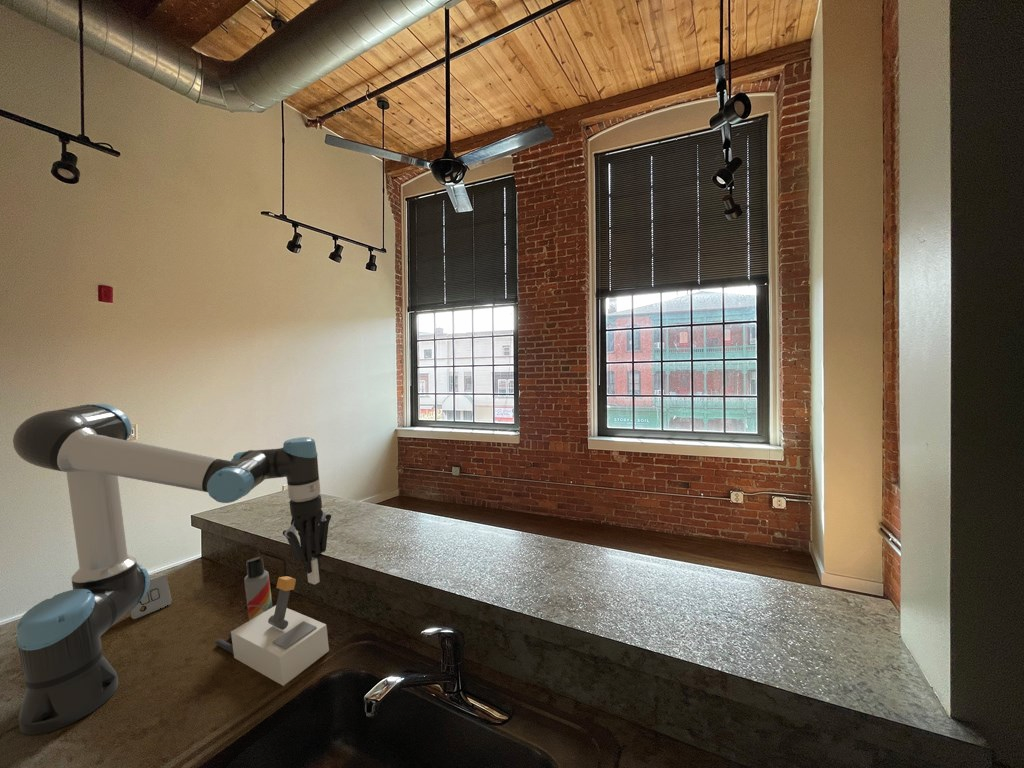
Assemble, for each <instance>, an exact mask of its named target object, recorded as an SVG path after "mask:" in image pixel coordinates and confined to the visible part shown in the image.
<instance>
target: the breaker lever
mask: <svg viewBox="0 0 1024 768" xmlns="http://www.w3.org/2000/svg"><path fill="white" fill-rule="evenodd" d="M296 581H297V579H296V578H294V577H291V576H286V575H285V576H281V577H280V576H279V577H278V579H277V584H276V587H275V588H276V589H278V595H277V600H276V604H275V605H276V608H275V613H274V615H272V616H271V617H270V618H269V620H268V623H269V624H271V625H273V626H275V627H277V628H279V629H281V630H284V629H285V628H286V627H287V626H288V621H286V620H284V618H285V613H286V609H287V608H288V602H289V599H290V594H291V591H292V590H295V586H296Z"/></svg>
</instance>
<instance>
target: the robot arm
mask: <svg viewBox="0 0 1024 768" xmlns="http://www.w3.org/2000/svg"><path fill="white" fill-rule="evenodd" d="M131 434H132V423H131V420H130V419H129V417H128V416H127V414H126V413H124V412H123V411H122V410H120V409H119V408H117V407H115V406H114V405H109V404H105V403H95V404H94V403H93V404H81V405H77V406H71V407H66V408H62V409H60V408H59V409H56V410H55V409H54V410H48V411H43V412H40V413H36V414H34V415H31V416H30V417H29V418H27V419H25V420H24V421H23V422H22V423H20V424H19V425H18V427H17V428H16V430H15V432H14V434H13V439H12V443H13V448H14V450H15V452H16V454H17V455H18V456H19V457H20V458H21V459H22V460H23V461H25V462H27V463H29V464H31V465H34V466H37V467H39V468H43V469H48V470H53V471H59V472H64V473H66V478H67V479H66V480H67V487H68V494H69V501H70V509H71V515H72V516H71V517H72V524H73V530H74V538H75V545H76V546H75V547H76V553H77V560H78V566H79V568H78V569H77V570H76V571H75V572H74V574H72V576H71V585H72V589H70V590H67V591H63V592H60V593H57V594H55V595H53V596H52V597H51V598H46V599H44V600H42V601H40V602H38V603H37V604H35V605H34V606H33V607H31V608H30V609H28V610H27V611H26V612H25V613H24V614H23V615H22V616H21V617H20V619H19V621H18V622H17V624H16V645H17V647H18V652H19V656H20V662H21V666H22V667H21V669H22V671H23V677H24V682H25V688H26V689H25V693H24V696H23V700H22V703H21V706H20V711H19V714H18V725H19V731H20V732H21V733H22V734H23V735H28V736H34V735H42V734H47V733H50V732H54V731H57V730H60V729H62V728H64V727H66V726H69V725H71V724H73V723H75V722H77V721H79V720H81V719H83V718H85V717H86V716H88V715H89V714H91V713H93V712H94V711H95V710H97V709H99V708H100V707H101V706H102V705H104V704H105V703H106V702H107V701H108V700H110V698H111V697H112V696H113V695H114V694H115V693H116V691H117V689H118V687H119V677H118V673H117V671H116V669H114V667H113V665H111V663H110V662H109V661H108V660H107V658H106V657H105V656H104V654H103V646H102V641H101V636H102V635H103V634H104V633H106V632H107V631H108V630H109V629H110V628H112V627H113V626H114V625H115V624H116V623H118V622H119V621H120V620H121V619H122V618H123V617H124V616H125V615H127V614H129V613H131V610H133V609H134V608H135V606H137V605H138V603H139V602H140V601H141V600H142V599H143V598H144V596H145V595H146V593H147V591H148V589H149V585H150V579H151V578H150V574H149V572H148V570H147V569H146V568H145V567H142V566H143V565H142V564H140V563H138V562H137V558H136V557H133V556H132V555H129V554H128V548H127V540H126V533H125V526H124V524H125V523H124V517H123V516H124V515H123V510H122V501H121V493H120V485H119V484H120V483H119V477H120V478H121V477H123V478H125V479H131V480H132V479H133V480H137V481H142V482H147V483H155V484H159V485H165V486H172V487H176V488H177V487H178V488H181V489H187V490H193V491H199V492H205V493H208V496H209V497H210V498H212V499H213V500H215V502H217V503H220V504H229V503H233V502H236V501H238V500H239V499H241V498H243V497H245V496H247V495H248V494H249V493H250V492H251V491H252V490H253V489H255V488H256V487H257V486H258V485H259V484H261V483H263V481H265V480H269V479H278V478H286V484H287V491H288V499H289V502H288V503H289V510H290V515H291V520H290V526H289V528H288V529H285V530H283V531H282V535H283V536H284V537H285V538H286V540H287V542H288V545H289V547H290V549H291V553H292V556H293V557H294V559H295V561H296V562H297V563H301V564H303V571H304V573H305V574H307V575H306V576H307V583H309V584H312V585H317V584H319V583H320V582H321V581H320V574H319V569H320V568H321V558H322V557H323V554H322V553H325V552H326V550H327V543H328V542H327V541H328V536H329V535H328V533H329V523H330V521H331V519H332V515H331V514H330V513H325V512H324V511H323V510H322V507H323V504H322V503H323V502H322V495H321V483H320V474H319V464H318V463H319V461H318V460H319V459H318V452H317V446H316V441H315V439H313V438H312V437H307V436H305V437H296V438H291V439H286V440H285V441H284V442H283V444H282V445H283V446H282V447H279V448H270V449H268V448H267V449H256V450H254V449H249V450H246V451H239V452H236V453H235V454H234V455H233V457H232V458H231V459H230V460H226V459H221V458H217V457H212V456H206V455H202V454H197V453H191V452H186V451H182V450H177V449H171V448H168V447H167V448H166V447H161V446H156V445H151V444H147V443H141V442H137V441H136V442H135V441H131V440H128V439H129V438H130V437H131ZM296 531H297V532H296ZM297 534H298V536H299V538H298V536H297Z"/></svg>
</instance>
